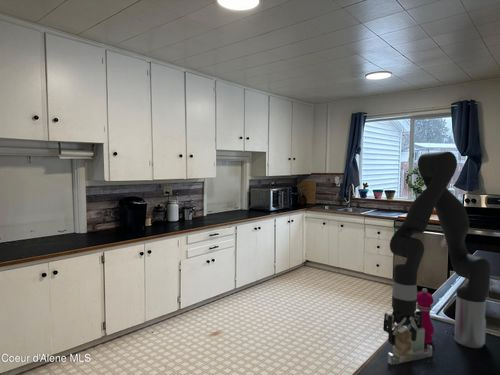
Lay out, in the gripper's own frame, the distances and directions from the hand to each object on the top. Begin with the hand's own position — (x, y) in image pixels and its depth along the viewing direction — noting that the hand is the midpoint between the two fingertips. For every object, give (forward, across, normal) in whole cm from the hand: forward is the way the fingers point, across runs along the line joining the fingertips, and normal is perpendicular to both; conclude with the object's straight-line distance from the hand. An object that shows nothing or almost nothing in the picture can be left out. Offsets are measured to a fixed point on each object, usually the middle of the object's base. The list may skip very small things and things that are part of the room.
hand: (402, 342), depth 115 cm
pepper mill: (+7, -19, -9) cm, 22 cm away
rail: (+7, -4, 0) cm, 8 cm away
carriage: (+6, 0, 0) cm, 6 cm away
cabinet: (+7, -10, -5) cm, 13 cm away
